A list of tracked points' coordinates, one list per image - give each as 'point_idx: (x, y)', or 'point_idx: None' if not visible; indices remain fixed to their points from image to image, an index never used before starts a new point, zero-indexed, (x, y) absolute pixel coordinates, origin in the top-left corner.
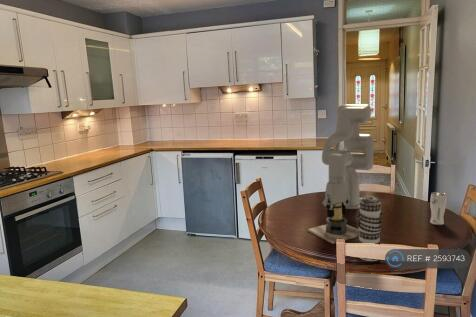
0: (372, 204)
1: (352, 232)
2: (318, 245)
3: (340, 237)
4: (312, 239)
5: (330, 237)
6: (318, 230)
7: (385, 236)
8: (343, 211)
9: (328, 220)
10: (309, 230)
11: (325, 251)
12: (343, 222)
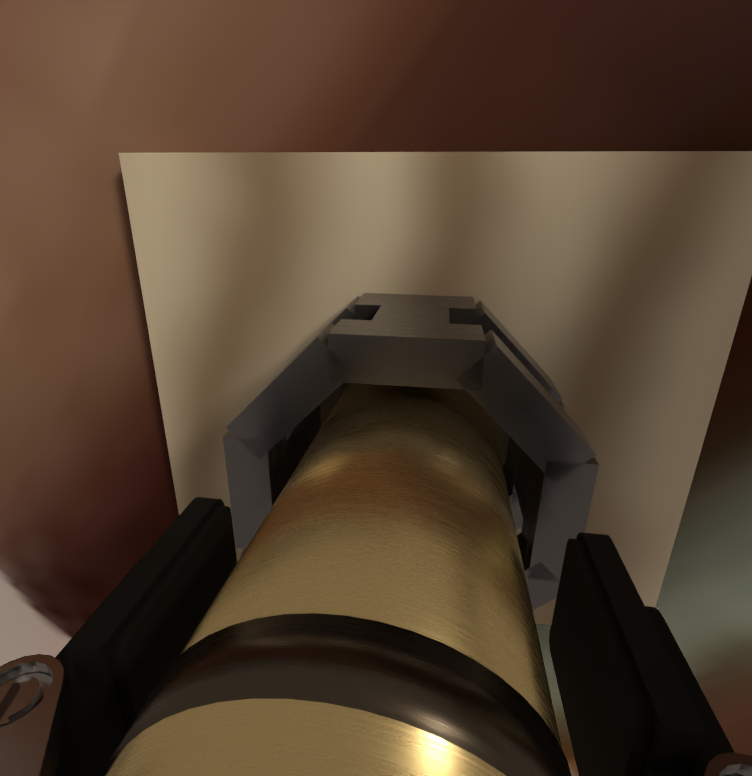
0: None
1: None
2: (71, 517)
3: None
4: (77, 393)
5: None
6: (222, 284)
7: (740, 734)
8: (567, 687)
9: (262, 452)
10: (131, 193)
11: (74, 613)
12: None
